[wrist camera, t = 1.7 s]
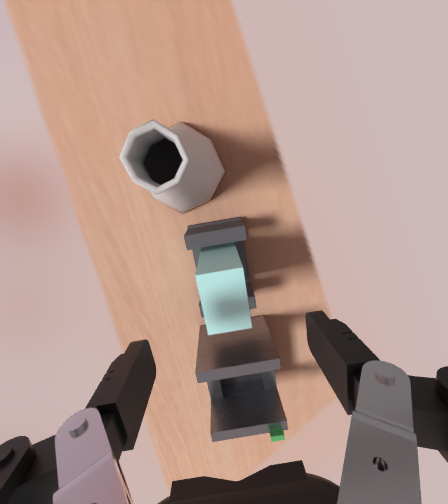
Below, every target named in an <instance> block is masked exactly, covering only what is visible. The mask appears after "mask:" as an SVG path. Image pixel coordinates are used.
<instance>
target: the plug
mask: <svg viewBox="0 0 448 504" xmlns="http://www.w3.org/2000/svg"><path fill="white" fill-rule="evenodd" d="M195 277H196V281H197V286H198V291H199V295H200V300H201V304H202V309H203V314H204V318H205V323H206V327H207V332H208V335H213V334H219V333H225V332H231V331H237V330H243V329H249V328H252V324H251V317H250V309H249V302H248V296H247V289H246V283H245V276H244V271H243V266H242V263H241V260H240V257H239V255H238V252H237V249H236V246H235V243H234V242H231V243H225V244H220V245H214V246H208V247H202V248H201V250H200V255H199V260H198V264H197V269H196V274H195Z"/></svg>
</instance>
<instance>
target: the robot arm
mask: <svg viewBox="0 0 448 504" xmlns="http://www.w3.org/2000/svg"><path fill="white" fill-rule="evenodd" d="M306 328H307V340H308V345H309V348H310V351H311V353H312V355H313V356H314V358H315V360H316V361H317V363H318V365H319V367H320V368H321V370H322V372H323V373H324V375H325V377H326V378H327V380H328V382H329V384H330V385H331V387H332V389H333V390H334V392H335V394H336V395H337V397H338V399H339V400H340V402H341V404H342V406H343V407H344V409H345V411H346V413H347V414H348V415H352V417H351V423H350V429H349V435H348V441H347V447H346V453H345V459H344V465H343V471H342V477H341V483H340V486H338V485H336V484H335V483H333V482H331V481H329V480H327V479H325V478H322V477H320V476H317V475H313V474H308V473H306V472H305V468H304V465H303V462H302V460H301V461H294V462H289V463H282V464H276V465H270V466H268V467H266V468H264V469H262V470H260V471H258V472H256V473H254V474H252V475H250V476H248V477H246V478H244V479H242V480H240V481H230V480H224V479H218V478H211V477H205V476H203V477H197V478H190V479H184V480H178V481H172V487H171V494H170V496H169V497H167V498H165V499H164V500H162V501H161V502H160V503H158V504H421V490H420V478H419V464H418V450H417V446H418V447H423V448H429V449H435V450H438V451H439V452H440V454H441V455H442V456H443V457H444V459H445V460H446V461H447V462H448V366H447V367H443V368H440V369H439V370H438V371H437V376H436V378H427V377H415V376H409V375H407V374H406V373H405V372H404V371H403V370H402V369H401V368H399V367H397V366H395V365H394V364H391V363H388V362H385V361H380V360H379V359H378V358H377V357H376V355H375V354H374V353H372V351H371V350H370V349H369V348H368V347H367V346H366V345H365V344H364V343H363V342H362V341H361V340H360V339H358V337H357V336H356V335H355V334H354V333H353V332H352V330H351V329H350V328H349V327H348V326H347V325H346V324H344V323H342V322H340V321H339V320H337V319H331V320H330V319H329V318H328V317H327V315H326V314H325V313H324V312H323V311H315V312H309V313H306ZM155 378H156V365H155V361H154V358H153V355H152V351H151V348H150V345H149V342H148V340H140V341H134V342H131V343H130V344H129V346H128V348H127V349H126V351H125V353H124V354H121V355H119V356H118V357H117V358H116V359H115V360H114V361H113V362H112V363H111V365H110V367H109V369H108V370H107V373H106V374H105V375H104V377H103V379H102V381H101V382H100V384H99V386H98V388H97V389H96V391H95V393H94V394H93V396H92V398H91V399H90V401H89V403H88V404H87V406H86V408H85V409H83V410H81V411H79V412H77V413H75V414H74V415H73V416H71V417H70V418H68V419H67V420H66V421H65V422H64V423H63V425H62V426H61V427H60V428H59V430H58V432H57V434H56V435H54V436H52V437H49V438H47V439H45V440H42V441H40V442H38V443H36V444H33V445H32V444H31V442H30V440H29V438H28V437H26V436H19V437H15V438H13V439H10V440H8V441H6V442H5V443H3V444H2V445H0V504H134V503H133V500H132V497H131V494H130V491H129V488H128V486H127V482H126V480H125V477H124V474H123V471H122V468H121V465H120V463H119V459H120V456H121V453H122V451H127V450H132V449H134V445H135V442H136V439H137V436H138V432H139V429H140V426H141V423H142V420H143V416H144V413H145V410H146V407H147V404H148V400H149V397H150V394H151V391H152V387H153V384H154V381H155Z"/></svg>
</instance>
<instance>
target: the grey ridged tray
mask: <svg viewBox="0 0 448 504" xmlns="http://www.w3.org/2000/svg"><path fill="white" fill-rule="evenodd" d="M184 239H185V243H186V248H187V250H190V249H192V251H193V255H194V260H195V265H196V269H197V264H198V260H199V255H200V250H201V248H202V247H208V246H214V245H220V244H225V243H231V242H234V243H235V246H236V249H237V252H238V255H239V257H240V260H241V263H242V266H243V271H244V276H245V283H246V289H247V296H248V302H249V309H254V308H256V301H255V295H254V292H253V290H252V287H251V284H250V280H249V273H248V266H247V259H246V252H245V245H244V240H247V237H246V229H245V225H244V224H243V222H242V221H241V218H240V217H237V218H231V219H225V220H219V221H214V222H208V223H202V224H196V225H190V226H188V230H187V232H186V233H185V235H184ZM199 307H200V311H201V316H202V317H204V314H203V309H202V304H201V300H200V303H199Z"/></svg>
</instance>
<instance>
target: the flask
mask: <svg viewBox="0 0 448 504" xmlns="http://www.w3.org/2000/svg"><path fill="white" fill-rule="evenodd" d="M119 157H120V159H121V161H122V163H123V165H124V167H125V168H126V170H127V172H128V174H129V176H130V177H131V179H132V181H133V182H134V183H136V184H138V185H139V186H141V187H143V188H145V189H147V190H149V191H150V192H151V194H152V196H153V198H154V199H155V200H157V201H159V202H161V203H163V204H165V205H167V206H169V207H171V208H172V209H174V210H176V211H178V212H180V213H182V214H183V213H185V212H187V211H189V210H191V209H193V208H196V207H198V206H200V205H202V204H204V203H206V202H208V201H210V200H211V198H212V196H213V194H214V192H215V190H216V188H217V186H218V185H219V183H220V181H221V179H222V177H223V175H224V173H225V170H224V168H223V166H222V163H221V161H220V159H219V156H218V154H217V152H216V149H215V147H214V145H213V142H212V140H211V139H209V138H208V137H206V136H204V135H203V134H201V133H199V132H198V131H196V130H194V129H193V128H191V127H189V126H188V125H186V124H184V123H183V122H179V123H177V124H175V125H173V126H171V127H169V128H167V127H166V126H164V125H162V124H160V123H159V122H157V121H155V120H154V119H153V120H151V121H149V122H147V123H145V124H143V125H141V126H139V127H137V128H135V129H133V130H132V131H130V132H129V134H128V136H127V139H126V141H125V144H124V146H123V149H122V151H121V154H120V156H119Z"/></svg>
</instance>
